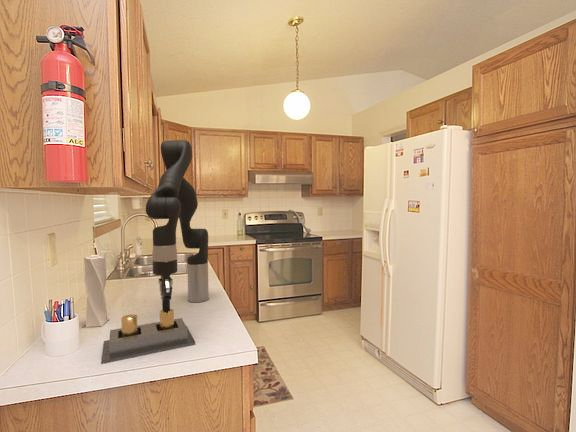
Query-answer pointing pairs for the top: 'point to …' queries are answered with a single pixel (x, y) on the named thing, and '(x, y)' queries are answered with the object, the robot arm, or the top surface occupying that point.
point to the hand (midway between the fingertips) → (166, 311)
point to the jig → (144, 339)
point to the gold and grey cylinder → (166, 320)
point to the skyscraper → (95, 290)
